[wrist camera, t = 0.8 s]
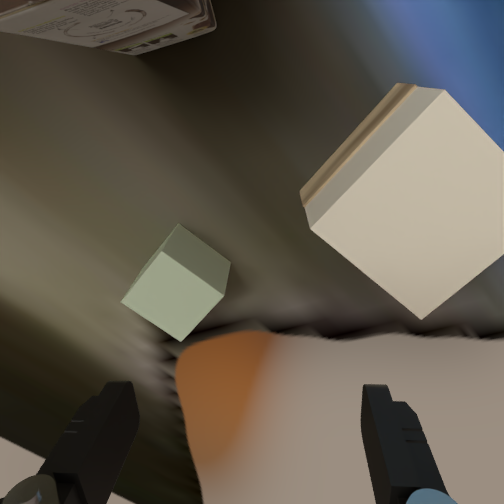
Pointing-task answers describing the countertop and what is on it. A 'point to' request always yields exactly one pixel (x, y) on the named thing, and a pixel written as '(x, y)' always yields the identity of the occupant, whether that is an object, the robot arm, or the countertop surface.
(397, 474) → the robot arm
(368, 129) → the tower base
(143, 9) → the coffee box
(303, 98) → the countertop surface
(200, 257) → the sage cube
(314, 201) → the tower top
